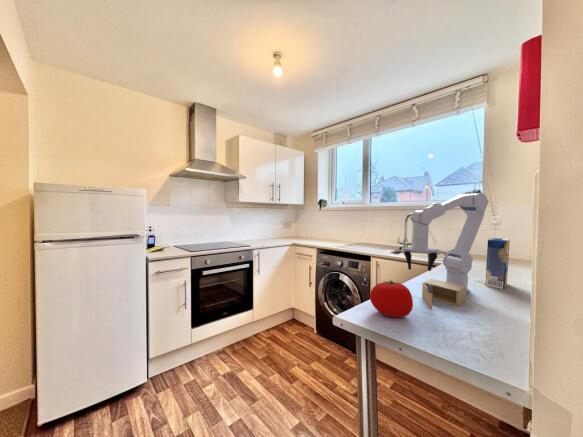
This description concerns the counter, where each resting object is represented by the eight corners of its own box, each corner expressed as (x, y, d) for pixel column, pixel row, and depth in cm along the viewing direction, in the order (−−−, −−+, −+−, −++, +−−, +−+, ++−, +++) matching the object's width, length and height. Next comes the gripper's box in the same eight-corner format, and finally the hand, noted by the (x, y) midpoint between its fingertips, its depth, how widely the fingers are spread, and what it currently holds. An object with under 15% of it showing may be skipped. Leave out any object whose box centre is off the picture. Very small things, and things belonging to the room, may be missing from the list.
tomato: (406, 327, 75) (408, 291, 74) (364, 314, 84) (365, 282, 83) (416, 313, 84) (418, 282, 84) (378, 303, 93) (379, 274, 93)
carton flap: (423, 296, 100) (424, 277, 99) (432, 308, 88) (433, 286, 88) (420, 296, 100) (421, 276, 99) (429, 308, 88) (430, 286, 88)
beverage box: (506, 283, 117) (509, 239, 116) (504, 289, 110) (507, 241, 108) (489, 280, 122) (491, 237, 121) (485, 285, 115) (487, 239, 113)
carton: (430, 292, 106) (431, 278, 105) (464, 301, 96) (465, 286, 95) (422, 296, 101) (423, 282, 100) (457, 306, 91) (458, 290, 90)
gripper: (403, 238, 101) (402, 270, 102) (442, 240, 97) (441, 273, 97) (401, 236, 107) (399, 266, 108) (437, 238, 103) (436, 269, 104)
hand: (419, 269), depth 103 cm, fingers open, 7 cm apart
